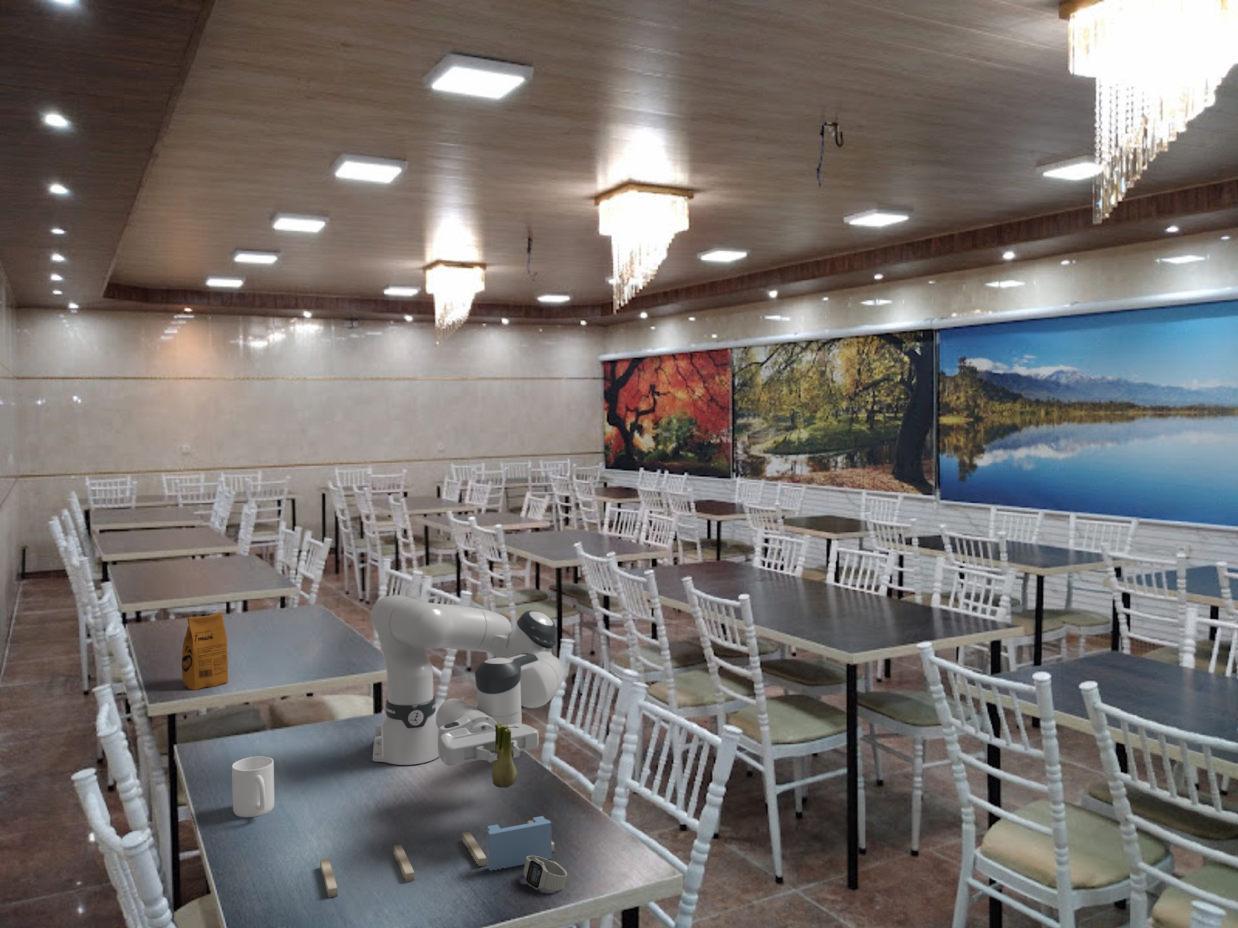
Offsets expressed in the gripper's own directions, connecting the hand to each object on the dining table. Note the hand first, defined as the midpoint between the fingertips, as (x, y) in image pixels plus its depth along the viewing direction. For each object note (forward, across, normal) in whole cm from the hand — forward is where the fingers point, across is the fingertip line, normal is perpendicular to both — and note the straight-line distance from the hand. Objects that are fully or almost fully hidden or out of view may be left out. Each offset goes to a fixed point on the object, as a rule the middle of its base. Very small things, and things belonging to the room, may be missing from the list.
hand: (505, 755), depth 187 cm
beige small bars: (0, +14, -17) cm, 22 cm away
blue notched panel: (+10, +2, -17) cm, 20 cm away
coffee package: (-149, +34, -18) cm, 154 cm away
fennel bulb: (-1, 0, -6) cm, 6 cm away
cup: (-41, +39, -18) cm, 59 cm away
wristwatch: (+18, +1, -18) cm, 25 cm away
